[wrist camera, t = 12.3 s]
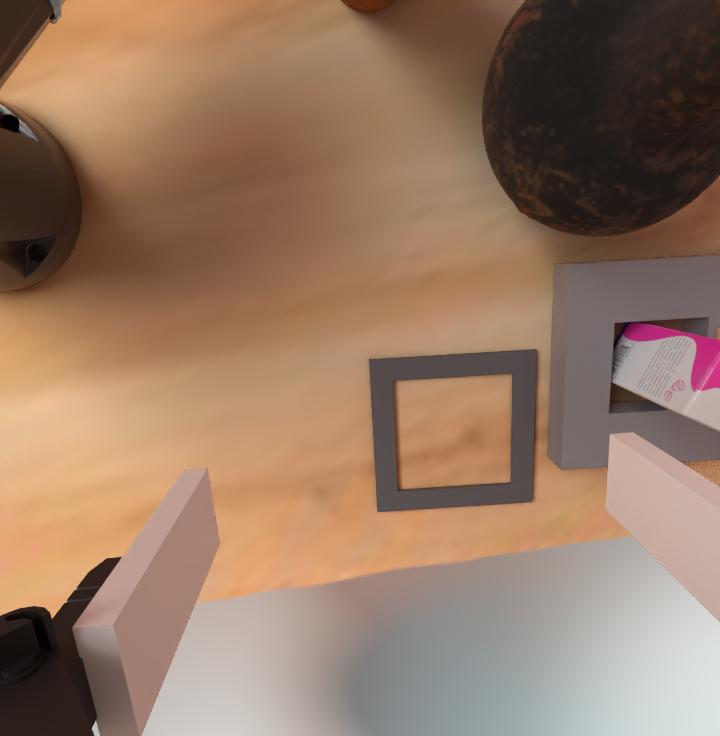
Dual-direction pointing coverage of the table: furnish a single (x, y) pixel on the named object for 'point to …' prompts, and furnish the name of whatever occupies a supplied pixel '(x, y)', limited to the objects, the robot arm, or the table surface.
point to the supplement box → (670, 370)
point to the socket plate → (595, 351)
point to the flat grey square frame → (441, 367)
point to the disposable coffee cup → (368, 4)
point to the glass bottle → (605, 111)
